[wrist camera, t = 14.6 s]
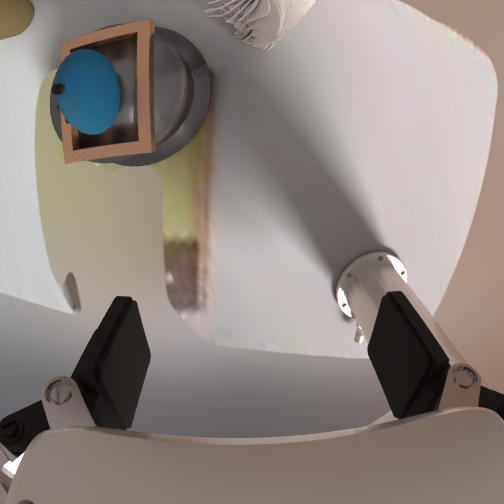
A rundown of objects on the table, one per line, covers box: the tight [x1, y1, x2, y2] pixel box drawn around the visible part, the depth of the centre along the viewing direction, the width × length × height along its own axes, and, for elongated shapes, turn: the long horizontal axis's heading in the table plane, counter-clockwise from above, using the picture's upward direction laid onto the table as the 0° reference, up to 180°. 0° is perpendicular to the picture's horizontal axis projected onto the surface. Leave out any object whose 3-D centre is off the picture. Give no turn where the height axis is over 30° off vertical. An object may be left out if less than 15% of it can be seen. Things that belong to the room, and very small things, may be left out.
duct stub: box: [50, 19, 212, 166], centre depth 28 cm, size 19×19×12 cm
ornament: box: [51, 49, 120, 135], centre depth 19 cm, size 8×5×10 cm, turn 8°
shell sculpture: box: [204, 0, 316, 51], centre depth 22 cm, size 8×8×18 cm
